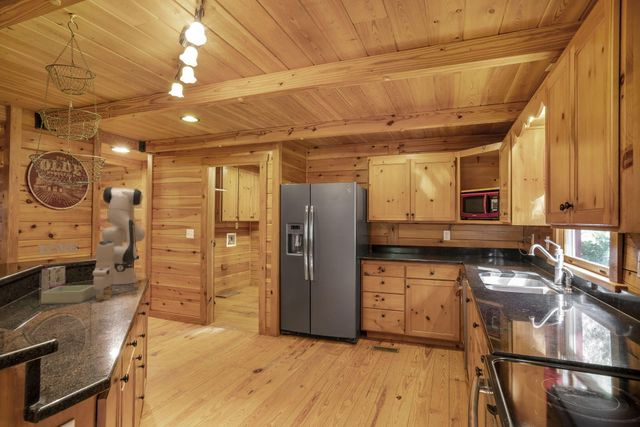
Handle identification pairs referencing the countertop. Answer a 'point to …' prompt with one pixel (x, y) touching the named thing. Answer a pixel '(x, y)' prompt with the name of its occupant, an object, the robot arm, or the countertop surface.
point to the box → (67, 294)
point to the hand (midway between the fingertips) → (104, 295)
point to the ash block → (105, 294)
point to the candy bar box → (53, 277)
